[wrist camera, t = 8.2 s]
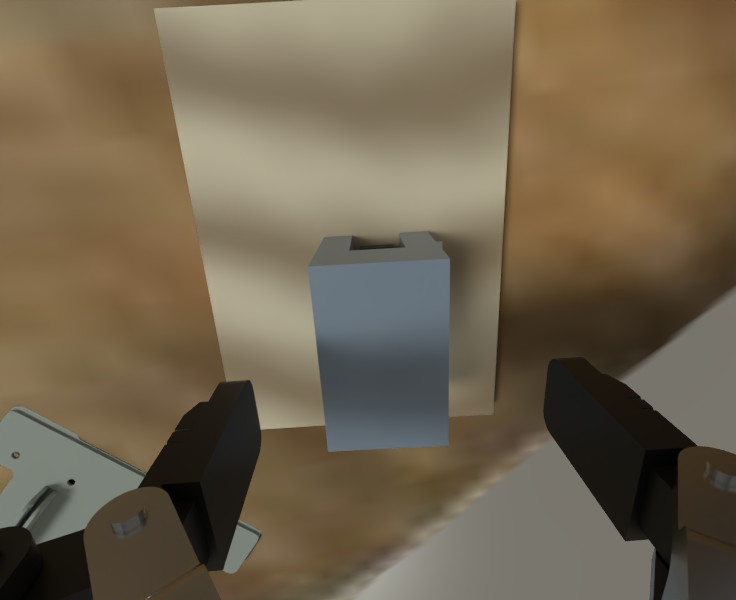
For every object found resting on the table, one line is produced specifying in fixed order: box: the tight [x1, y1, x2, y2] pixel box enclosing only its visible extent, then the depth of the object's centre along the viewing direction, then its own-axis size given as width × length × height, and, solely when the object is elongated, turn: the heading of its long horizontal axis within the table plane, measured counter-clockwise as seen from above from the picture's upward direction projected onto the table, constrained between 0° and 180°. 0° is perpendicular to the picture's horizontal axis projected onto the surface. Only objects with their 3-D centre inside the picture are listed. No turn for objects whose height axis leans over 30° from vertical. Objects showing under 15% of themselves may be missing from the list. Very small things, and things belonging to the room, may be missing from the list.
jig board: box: [154, 0, 516, 429], centre depth 17 cm, size 18×13×4 cm
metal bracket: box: [0, 406, 261, 573], centre depth 23 cm, size 14×6×15 cm
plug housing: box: [308, 231, 450, 452], centre depth 16 cm, size 7×4×5 cm, turn 3°
